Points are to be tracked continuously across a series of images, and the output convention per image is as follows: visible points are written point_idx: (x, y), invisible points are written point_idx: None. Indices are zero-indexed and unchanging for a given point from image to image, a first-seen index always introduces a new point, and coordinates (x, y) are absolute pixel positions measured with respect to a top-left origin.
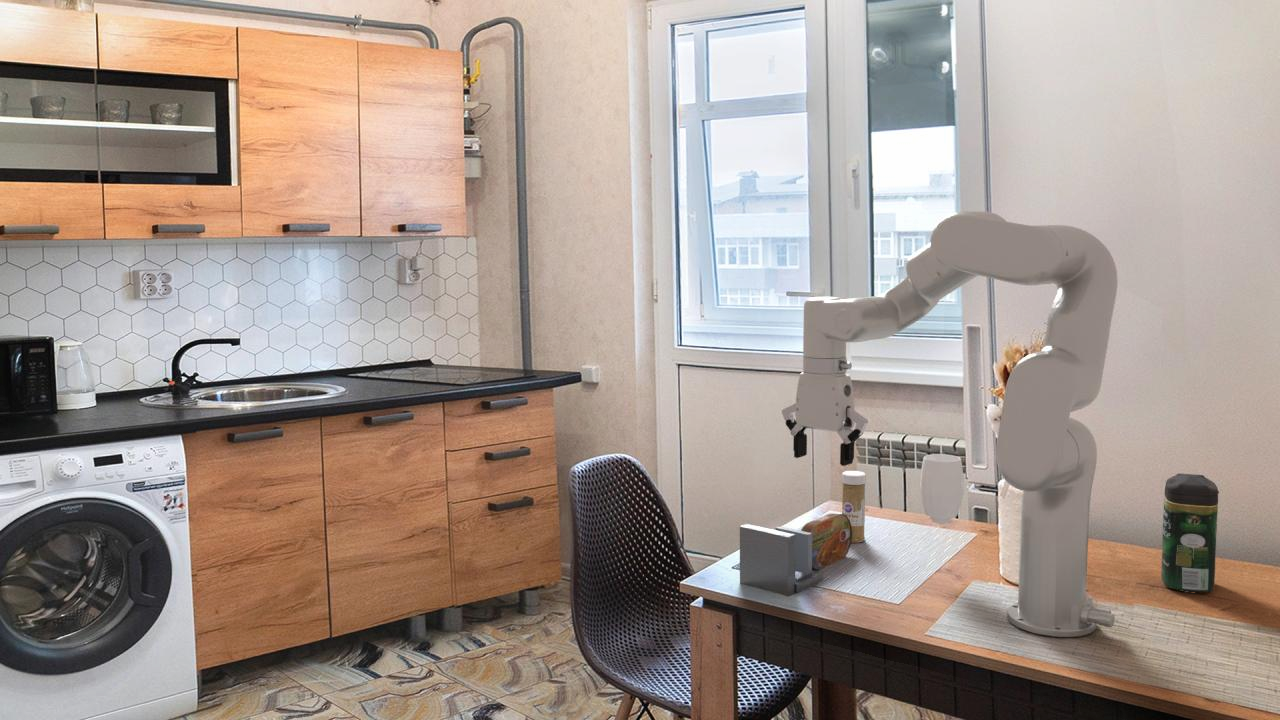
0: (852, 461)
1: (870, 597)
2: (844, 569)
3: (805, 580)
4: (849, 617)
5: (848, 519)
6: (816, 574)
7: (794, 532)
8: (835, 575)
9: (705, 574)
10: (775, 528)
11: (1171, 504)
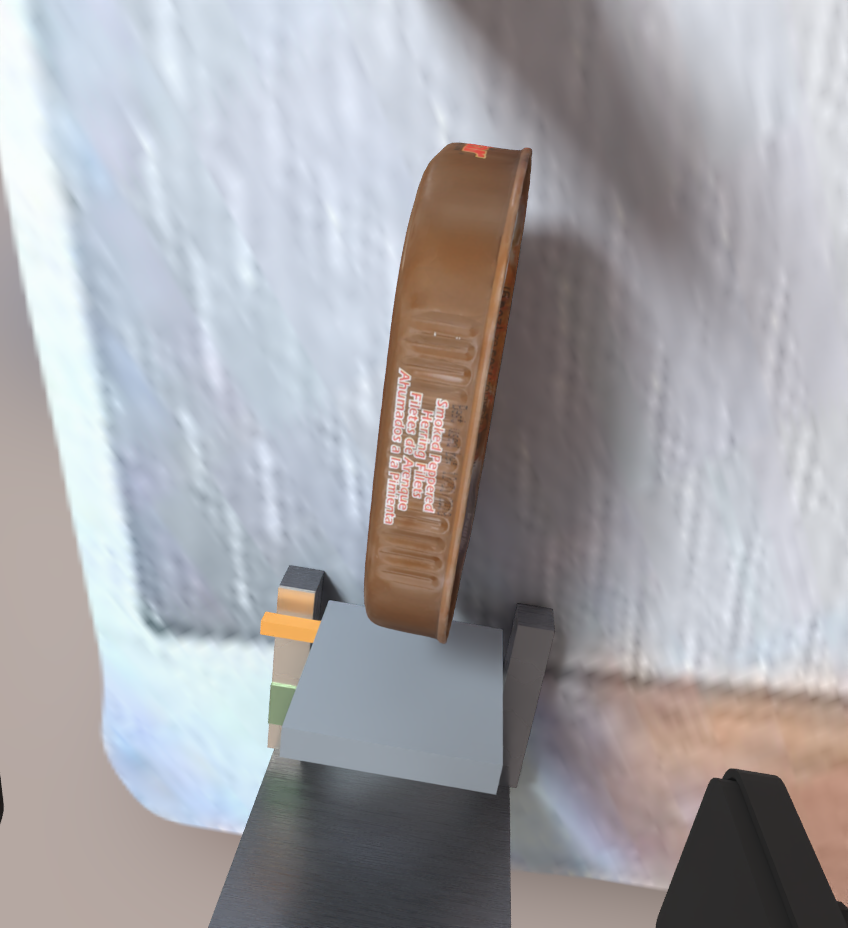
0: (781, 789)
1: (797, 688)
2: (584, 426)
3: (527, 739)
4: None
5: (518, 196)
6: (539, 664)
7: (406, 777)
8: (575, 522)
9: (123, 731)
10: (281, 753)
11: None
